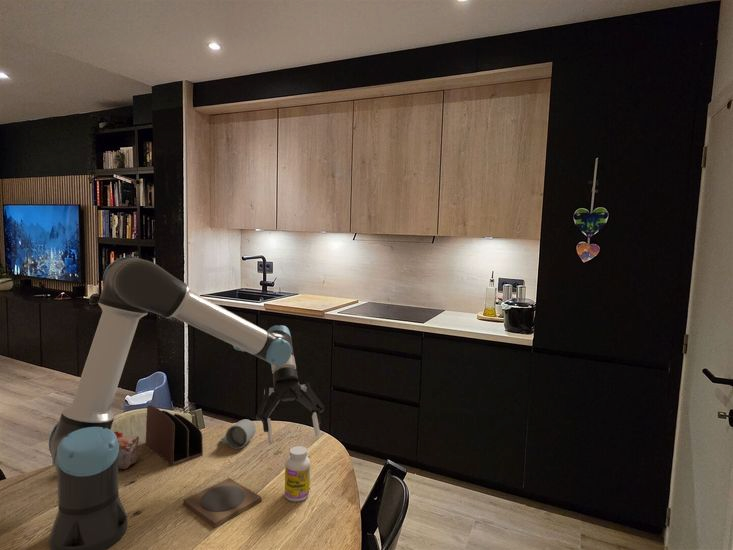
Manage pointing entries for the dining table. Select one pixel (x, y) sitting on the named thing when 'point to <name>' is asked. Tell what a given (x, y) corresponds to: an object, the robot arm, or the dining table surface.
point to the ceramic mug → (239, 434)
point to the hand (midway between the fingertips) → (295, 439)
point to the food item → (126, 450)
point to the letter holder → (172, 436)
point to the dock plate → (222, 502)
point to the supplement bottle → (297, 474)
